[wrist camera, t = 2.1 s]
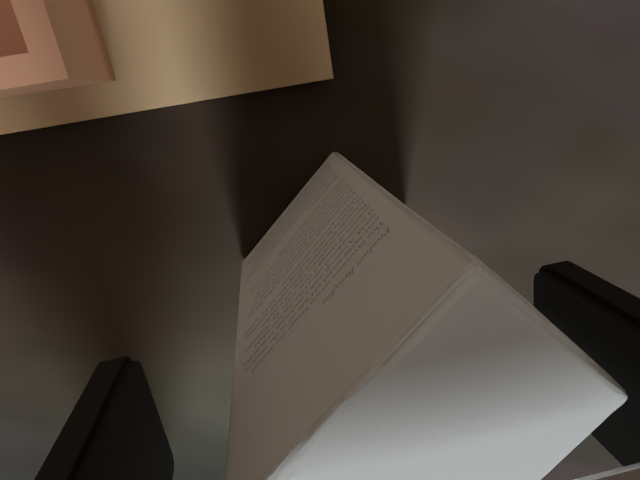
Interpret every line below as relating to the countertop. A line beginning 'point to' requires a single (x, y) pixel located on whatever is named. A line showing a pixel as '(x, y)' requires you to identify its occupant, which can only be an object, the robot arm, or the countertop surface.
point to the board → (186, 57)
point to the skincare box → (395, 352)
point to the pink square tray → (50, 47)
